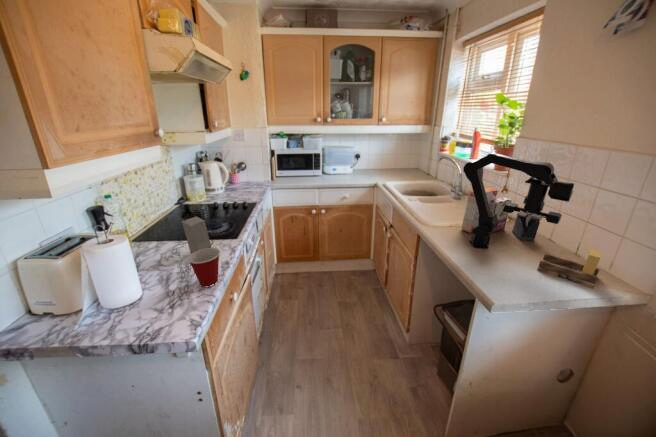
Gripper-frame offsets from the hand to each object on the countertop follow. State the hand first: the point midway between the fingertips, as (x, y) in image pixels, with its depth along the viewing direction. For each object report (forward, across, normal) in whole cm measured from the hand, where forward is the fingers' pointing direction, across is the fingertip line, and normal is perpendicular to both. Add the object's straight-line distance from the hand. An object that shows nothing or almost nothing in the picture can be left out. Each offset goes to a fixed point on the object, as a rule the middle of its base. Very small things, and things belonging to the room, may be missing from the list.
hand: (525, 232), depth 119 cm
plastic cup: (+12, +74, +101) cm, 126 cm away
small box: (+12, +4, -24) cm, 28 cm away
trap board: (+12, -16, 0) cm, 20 cm away
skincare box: (+12, +97, +94) cm, 136 cm away
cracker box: (+12, +24, -17) cm, 31 cm away
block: (+10, -22, 0) cm, 24 cm away
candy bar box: (+12, +17, -23) cm, 31 cm away
